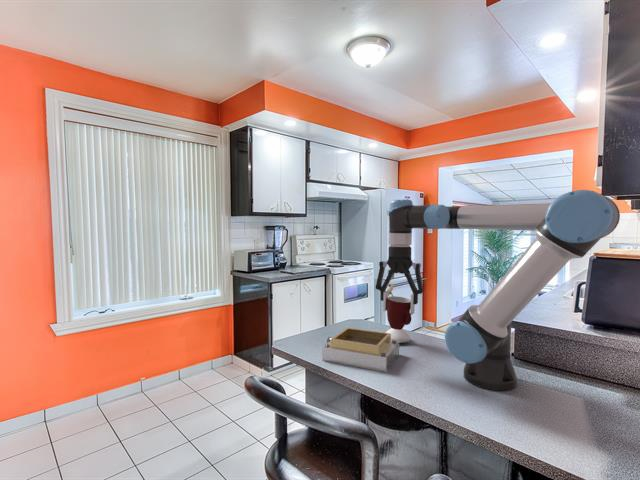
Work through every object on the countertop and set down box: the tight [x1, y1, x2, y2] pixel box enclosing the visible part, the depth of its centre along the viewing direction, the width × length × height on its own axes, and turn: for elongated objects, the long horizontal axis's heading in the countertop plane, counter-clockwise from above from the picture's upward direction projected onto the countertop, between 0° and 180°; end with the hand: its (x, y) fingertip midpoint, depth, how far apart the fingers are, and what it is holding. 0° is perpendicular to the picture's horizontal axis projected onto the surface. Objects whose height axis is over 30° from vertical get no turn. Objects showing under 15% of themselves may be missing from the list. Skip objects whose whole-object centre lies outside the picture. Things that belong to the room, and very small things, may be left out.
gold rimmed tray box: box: [321, 327, 400, 373], centre depth 129 cm, size 28×18×8 cm, turn 63°
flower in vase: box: [385, 283, 411, 344], centre depth 145 cm, size 13×11×25 cm
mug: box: [386, 295, 412, 330], centre depth 116 cm, size 11×8×10 cm
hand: (398, 311), depth 117 cm, fingers closed on mug, 9 cm apart
